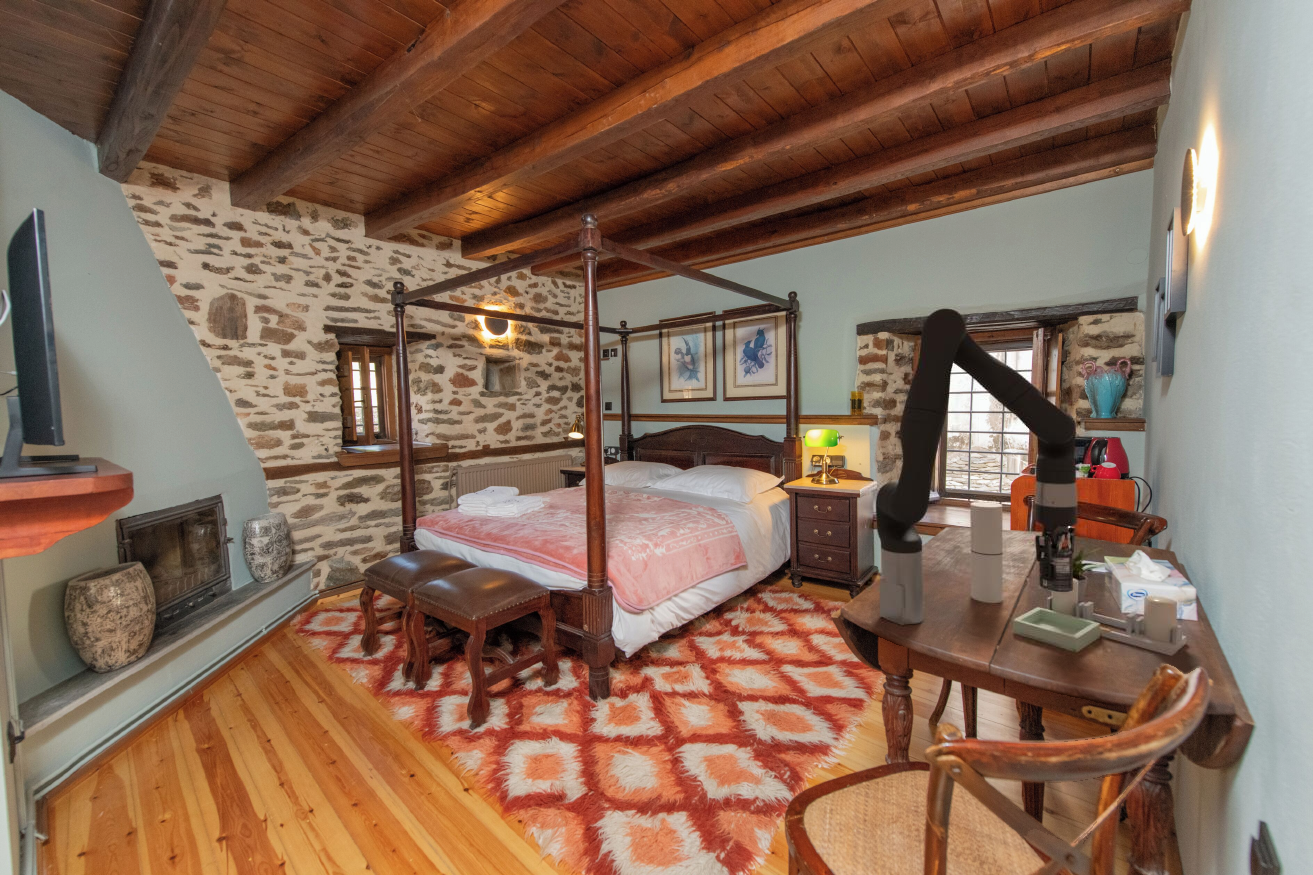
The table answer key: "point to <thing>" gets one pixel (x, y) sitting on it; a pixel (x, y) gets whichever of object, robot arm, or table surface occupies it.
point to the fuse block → (1129, 621)
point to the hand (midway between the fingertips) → (1055, 576)
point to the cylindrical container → (986, 552)
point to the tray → (1057, 629)
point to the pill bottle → (1060, 572)
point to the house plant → (1078, 568)
